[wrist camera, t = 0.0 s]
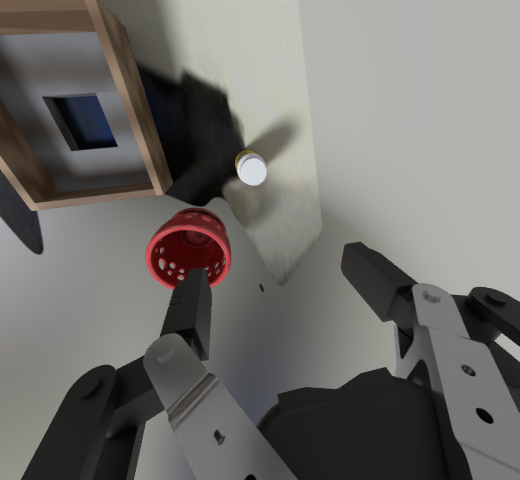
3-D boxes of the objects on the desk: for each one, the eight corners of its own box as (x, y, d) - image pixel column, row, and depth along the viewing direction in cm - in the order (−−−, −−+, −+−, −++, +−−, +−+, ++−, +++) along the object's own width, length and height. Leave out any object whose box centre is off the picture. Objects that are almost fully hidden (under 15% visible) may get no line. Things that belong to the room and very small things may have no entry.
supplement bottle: (241, 143, 34) (246, 148, 26) (264, 156, 35) (275, 164, 28) (230, 169, 35) (232, 180, 28) (253, 180, 37) (260, 193, 30)
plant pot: (241, 229, 42) (248, 261, 32) (200, 264, 45) (194, 304, 35) (193, 185, 36) (183, 208, 26) (150, 230, 39) (124, 266, 28)
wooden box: (-37, 31, 22) (-129, -3, 17) (124, 26, 24) (93, -6, 19) (65, 195, 33) (31, 211, 27) (173, 183, 35) (163, 194, 29)
